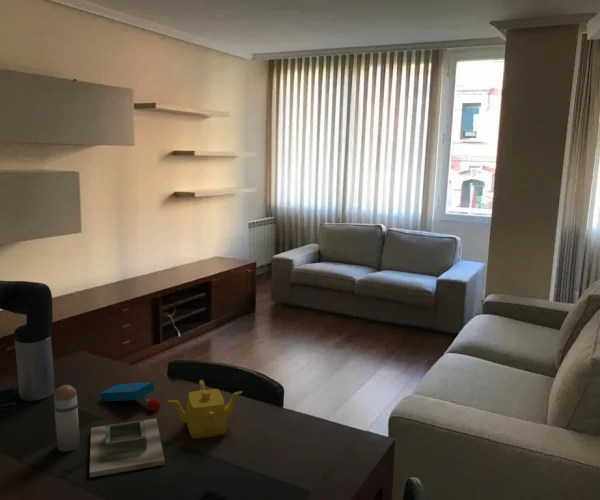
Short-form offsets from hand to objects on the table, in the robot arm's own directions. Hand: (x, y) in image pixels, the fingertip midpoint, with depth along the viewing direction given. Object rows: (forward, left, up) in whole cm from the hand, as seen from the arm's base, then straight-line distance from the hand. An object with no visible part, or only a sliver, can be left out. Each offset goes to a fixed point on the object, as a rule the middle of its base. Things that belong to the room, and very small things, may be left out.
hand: (15, 399), depth 124 cm
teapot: (-1, +43, -14) cm, 46 cm away
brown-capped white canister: (-2, +10, -14) cm, 18 cm away
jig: (+3, +23, -14) cm, 27 cm away
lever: (-20, +26, -15) cm, 36 cm away
